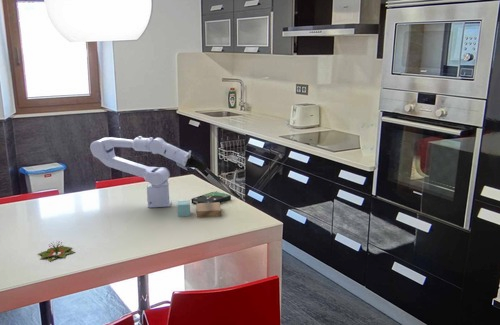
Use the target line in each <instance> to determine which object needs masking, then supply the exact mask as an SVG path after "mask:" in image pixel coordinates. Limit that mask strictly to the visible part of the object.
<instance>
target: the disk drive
mask: <svg viewBox="0 0 500 325" xmlns="http://www.w3.org/2000/svg"><path fill="white" fill-rule="evenodd" d="M190 200H191V201H190V202H191V204H192V205H195V206H196V203H214V202H220V205H221V204H223V203H226V202H229V201H231V200H232V195H231V194H227V193H224V192H219V191H212V192H208V193H205V194H201V195H199V196H195V197H192V198H190Z"/></svg>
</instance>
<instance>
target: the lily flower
mask: <svg viewBox="0 0 500 325" xmlns="http://www.w3.org/2000/svg"><path fill="white" fill-rule="evenodd" d="M51 246H52V247H51ZM48 247H49V248H47V249H46V250H45V251H40V252H39V253H37V255H41V258H39V260H42V259H45V258H47V260H48V261H49V262H52V261H53V260H55V259H58V258H63V259H66V258H67V257H66V256H67V255H70V254H74V253H76V252H75V251H74V250H70V249H72V247H71V246H66V245H63V242H61V240H59V241H57V242H56V243H55V242H54V241H52V242H50V245H48ZM58 253H59V254H58ZM53 257H54V258H53Z"/></svg>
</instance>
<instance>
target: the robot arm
mask: <svg viewBox="0 0 500 325" xmlns="http://www.w3.org/2000/svg"><path fill="white" fill-rule="evenodd" d="M89 146H90V147H89V149H90V152H91V154H92V156H93V157H94V158H97V159H98V160H99V161H100V162H101V163H103V165H104V166H106V167H109V168H111V169H115V170H118V171H120V172H124V173H127V174H130V175H133V176H137V177H140V178H143V179H144V180H145V182H146V183H149V184H150V185H149V184H148V185H147V186H146V195H147V198H146V201H147V208H162V207H163V208H164V207H171V204H172V203H171V202H172V200H171V198H170V188H169V187H170V186H169V185H170V183H169V181H168V180H169V179H170V175H171V173H170V170H169V169H168V168H166V167H163V166H161V167H157V166H149V165H144V164H142V163H139V162H138V163H137V162H134V161H131V160H129V159H126V158H123V157H119V156H116V154H115V148H132V149H133V150H134V151H135V152H148V153H149V152H151V153H152V154H153V155H158V154H159V155H161V156H163V157H165V158H167V159H168V160H169V159H170V160H171V161H173V162H176V163H178V164H179V165H182V166H183V167H185V168H189V169H190V168H193V169H197V170H201V171H207V168H208V165H207V164H206V163H204V162H203V161H201V159H199V157H198V156H196V155H194V154H191V153H192V150H188V151H185V150H184V149H181V148H179V147H177V146H175V145H173V144H171V143H168V142H167V141H165V140H164V138H162V137H158V136H157V137H155V138H154V137H143V136H142V135H139V136H137V137H135V138H134V139H130V138H129V139H127V138H119V137H114V136H111V137H107V136H105V137H102V138H101V139H98V140H94V141H92V142H91V143H90V145H89Z"/></svg>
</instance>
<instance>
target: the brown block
mask: <svg viewBox="0 0 500 325" xmlns="http://www.w3.org/2000/svg"><path fill="white" fill-rule="evenodd" d="M195 208H196V209H195V210H196V211H195V213H196V218H210V217H211V218H212V217H222V208H221V204H220V202H214V203H196V205H195Z"/></svg>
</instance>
